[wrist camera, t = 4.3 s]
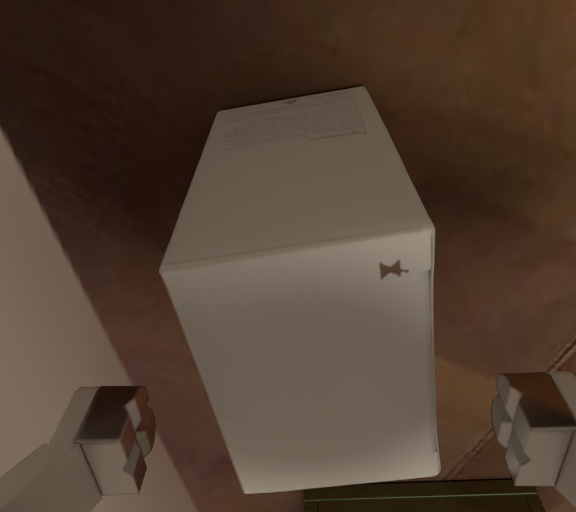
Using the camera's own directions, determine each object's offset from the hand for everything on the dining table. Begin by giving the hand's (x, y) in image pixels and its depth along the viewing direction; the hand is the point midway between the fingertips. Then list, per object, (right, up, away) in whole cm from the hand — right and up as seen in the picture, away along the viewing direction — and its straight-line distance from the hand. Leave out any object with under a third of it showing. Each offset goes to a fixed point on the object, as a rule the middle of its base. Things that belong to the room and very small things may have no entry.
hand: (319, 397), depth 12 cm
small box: (0, +6, +9) cm, 11 cm away
